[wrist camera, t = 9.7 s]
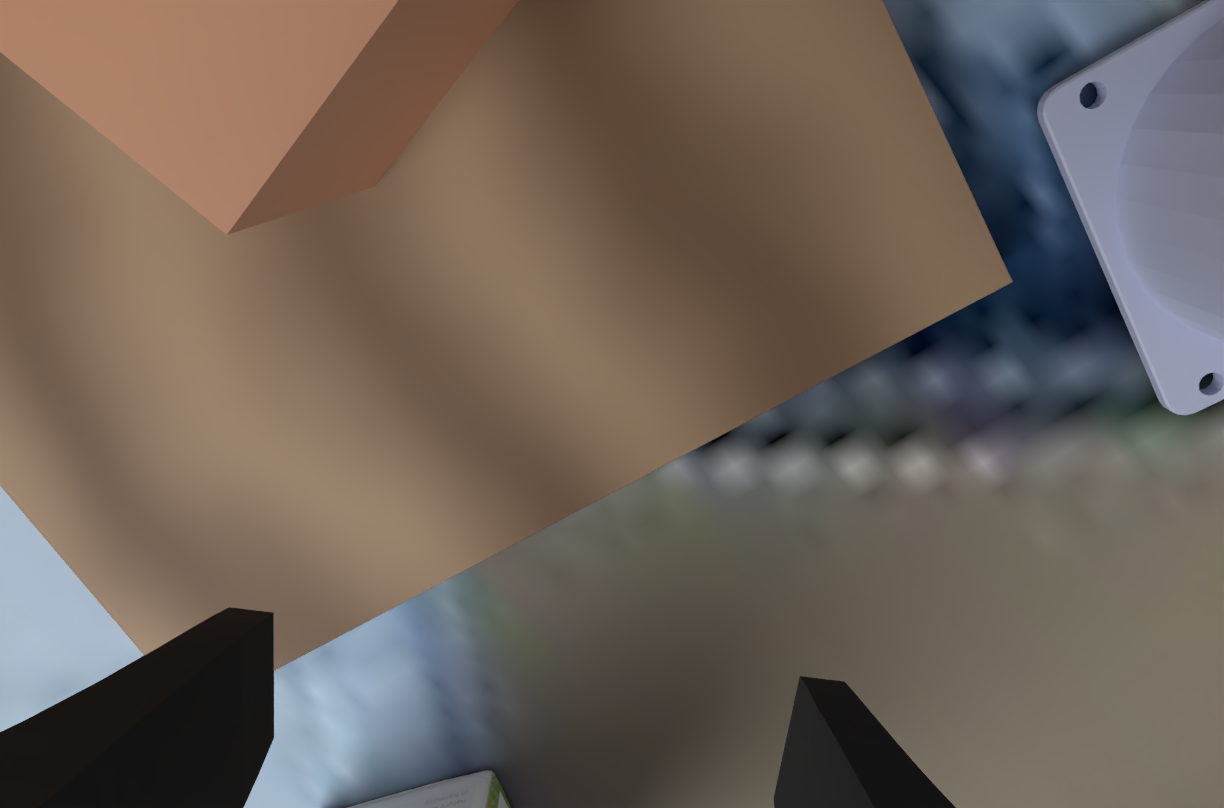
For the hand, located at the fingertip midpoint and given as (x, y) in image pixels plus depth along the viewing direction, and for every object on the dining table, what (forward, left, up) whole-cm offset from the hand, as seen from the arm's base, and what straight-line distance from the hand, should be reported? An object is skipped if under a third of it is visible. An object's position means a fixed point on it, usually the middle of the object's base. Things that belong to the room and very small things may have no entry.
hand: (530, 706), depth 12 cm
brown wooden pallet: (+1, -8, -10) cm, 13 cm away
